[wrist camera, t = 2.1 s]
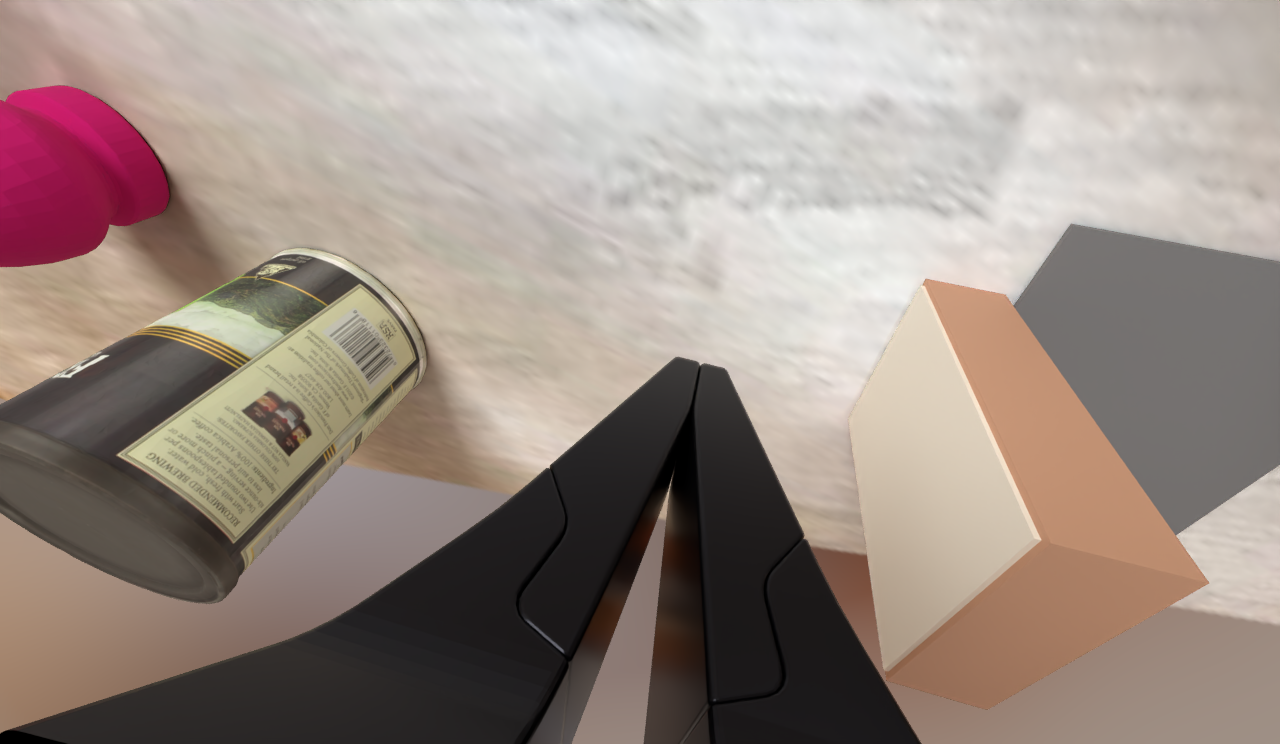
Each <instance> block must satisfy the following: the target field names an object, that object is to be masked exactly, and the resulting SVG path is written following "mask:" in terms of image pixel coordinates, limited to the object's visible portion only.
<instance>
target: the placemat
mask: <svg viewBox="0 0 1280 744" xmlns="http://www.w3.org/2000/svg"><path fill="white" fill-rule="evenodd" d="M1014 308H1015V309H1016V311H1017V312H1018V313H1019V315H1020V316H1021V318H1022V319H1023V320H1024V322H1025V323H1026V325H1027V326H1028V327H1029V329H1030V330H1031V332H1032V333H1033V335H1034V336H1035V337H1036V339H1037V340H1038V342H1039V343H1040V344H1041V346H1042V347H1043V349H1044V350H1045V352H1046V353H1047V354H1048V356H1049V357H1050V359H1051V360H1052V361H1053V363H1054V364H1055V366H1056V367H1057V368H1058V370H1059V371H1060V373H1061V374H1062V376H1063V377H1064V378H1065V380H1066V381H1067V383H1068V384H1069V385H1070V387H1071V388H1072V390H1073V391H1074V393H1075V394H1076V395H1077V397H1078V398H1079V400H1080V401H1081V402H1082V404H1083V405H1084V407H1085V408H1086V410H1087V411H1088V412H1089V414H1090V415H1091V417H1092V418H1093V419H1094V421H1095V422H1096V424H1097V425H1098V426H1099V428H1100V429H1101V431H1102V432H1103V434H1104V435H1105V436H1106V438H1107V439H1108V441H1109V442H1110V443H1111V445H1112V446H1113V448H1114V449H1115V451H1116V452H1117V453H1118V455H1119V456H1120V458H1121V459H1122V460H1123V462H1124V463H1125V465H1126V466H1127V467H1128V469H1129V470H1130V472H1131V473H1132V475H1133V476H1134V477H1135V479H1136V480H1137V482H1138V483H1139V484H1140V486H1141V487H1142V489H1143V490H1144V492H1145V493H1146V494H1147V496H1148V497H1149V499H1150V500H1151V501H1152V503H1153V504H1154V506H1155V507H1156V508H1157V510H1158V511H1159V513H1160V514H1161V516H1162V517H1163V518H1164V520H1165V521H1166V523H1167V524H1168V525H1169V527H1170V528H1171V530H1172V531H1173V533H1174V534H1175V535H1177V534H1178V533H1180V532H1181V531H1183V530H1184V529H1186V528H1187V527H1189V526H1190V525H1192V524H1193V523H1195V522H1196V521H1198V520H1199V519H1200V518H1202V517H1203V516H1205V515H1206V514H1208V513H1209V512H1211V511H1212V510H1214V509H1215V508H1217V507H1218V506H1220V505H1221V504H1223V503H1224V502H1226V501H1227V500H1228V499H1230V498H1231V497H1233V496H1234V495H1236V494H1237V493H1239V492H1240V491H1242V490H1243V489H1245V488H1246V487H1248V486H1249V485H1251V484H1252V483H1253V482H1255V481H1256V480H1258V479H1259V478H1261V477H1262V476H1264V475H1265V474H1267V473H1268V472H1270V471H1271V470H1273V469H1274V468H1276V467H1277V466H1278V465H1280V262H1278V261H1273V260H1267V259H1262V258H1256V257H1251V256H1245V255H1240V254H1234V253H1229V252H1223V251H1218V250H1212V249H1207V248H1201V247H1196V246H1190V245H1185V244H1179V243H1174V242H1168V241H1162V240H1157V239H1151V238H1146V237H1140V236H1135V235H1129V234H1124V233H1118V232H1113V231H1107V230H1102V229H1096V228H1091V227H1085V226H1080V225H1074V224H1071V225H1070V226H1069V228H1068V229H1067V231H1066V232H1065V234H1064V235H1063V236H1062V238H1061V239H1060V241H1059V242H1058V244H1057V245H1056V246H1055V248H1054V249H1053V251H1052V252H1051V253H1050V255H1049V256H1048V258H1047V259H1046V261H1045V262H1044V263H1043V265H1042V266H1041V268H1040V269H1039V271H1038V272H1037V273H1036V275H1035V276H1034V278H1033V279H1032V281H1031V282H1030V283H1029V285H1028V286H1027V288H1026V289H1025V291H1024V292H1023V293H1022V295H1021V296H1020V298H1019V299H1018V301H1017V302H1016V303H1015V305H1014Z"/></svg>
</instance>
